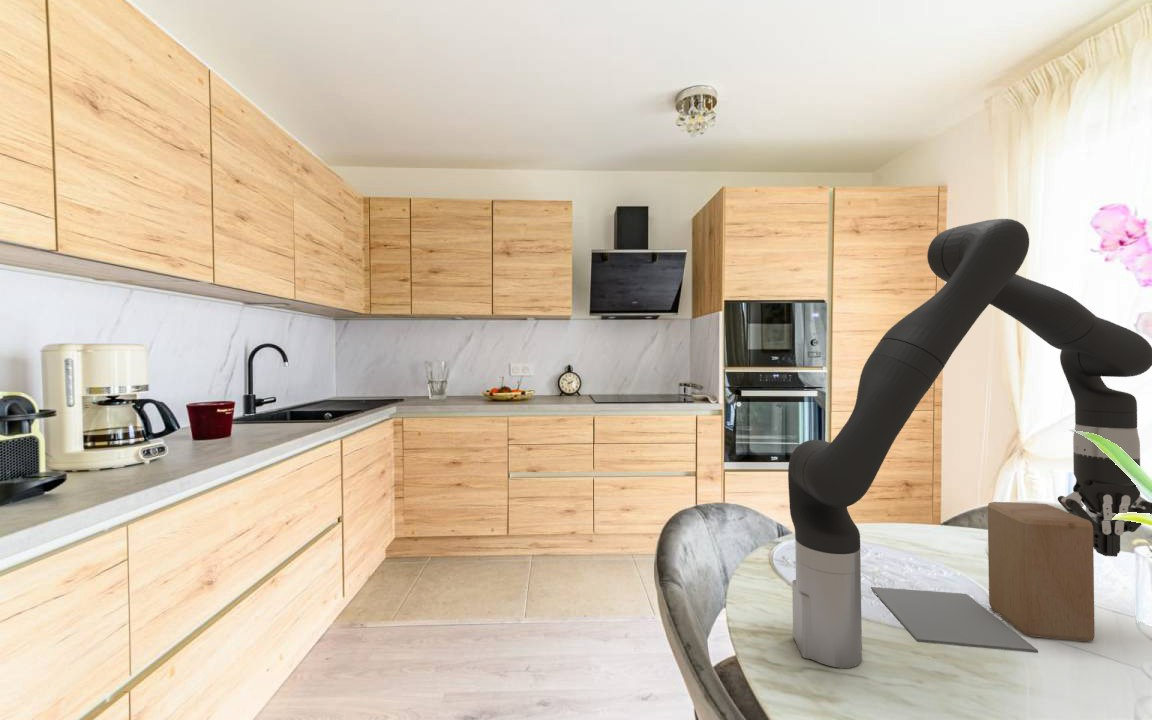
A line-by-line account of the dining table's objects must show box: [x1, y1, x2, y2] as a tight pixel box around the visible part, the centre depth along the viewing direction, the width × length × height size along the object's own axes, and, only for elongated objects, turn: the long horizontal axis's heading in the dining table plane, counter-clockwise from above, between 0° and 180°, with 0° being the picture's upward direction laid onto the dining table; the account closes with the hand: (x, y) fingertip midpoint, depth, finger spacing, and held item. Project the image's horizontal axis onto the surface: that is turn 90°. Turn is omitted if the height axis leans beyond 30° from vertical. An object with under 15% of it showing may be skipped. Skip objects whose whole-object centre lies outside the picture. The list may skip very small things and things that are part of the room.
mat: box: [870, 586, 1039, 653], centre depth 84 cm, size 17×18×1 cm
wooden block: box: [987, 501, 1096, 642], centre depth 82 cm, size 10×10×20 cm
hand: (1106, 554), depth 80 cm, fingers closed
